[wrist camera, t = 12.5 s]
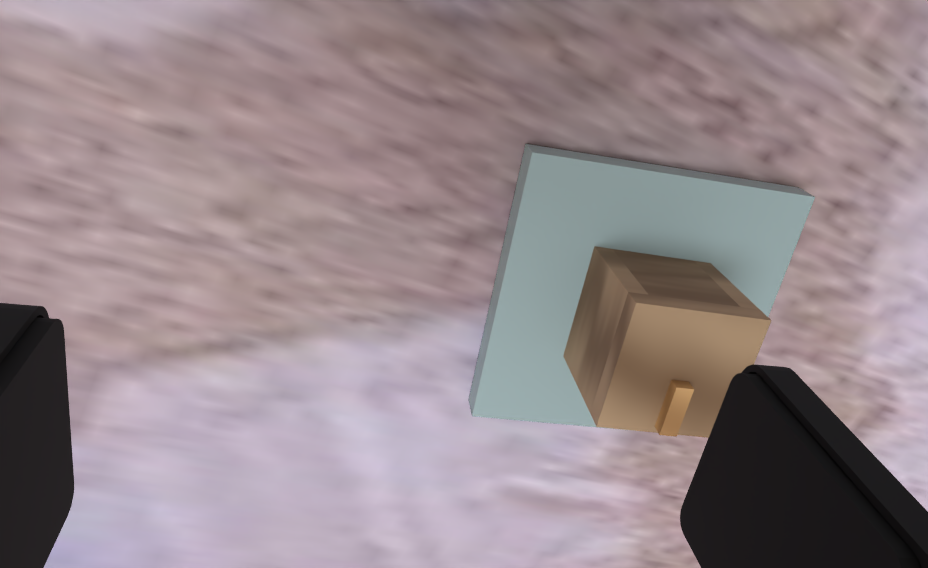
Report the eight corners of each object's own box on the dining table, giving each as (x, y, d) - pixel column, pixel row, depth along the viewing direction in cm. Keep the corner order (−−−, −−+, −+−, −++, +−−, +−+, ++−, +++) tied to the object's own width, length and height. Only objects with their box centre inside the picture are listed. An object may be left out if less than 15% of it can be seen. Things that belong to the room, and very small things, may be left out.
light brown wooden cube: (594, 246, 35) (641, 309, 29) (710, 262, 36) (778, 327, 30) (563, 355, 37) (600, 435, 31) (673, 368, 38) (729, 447, 33)
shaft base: (525, 143, 34) (555, 182, 29) (798, 187, 37) (873, 230, 31) (468, 399, 40) (484, 472, 34) (709, 422, 42) (759, 493, 37)
